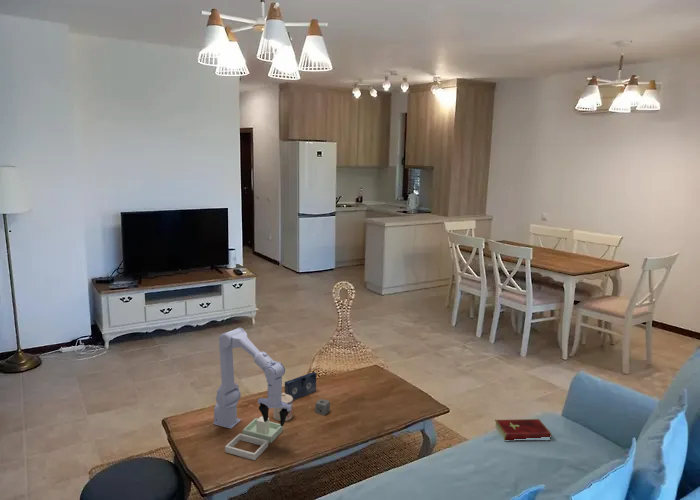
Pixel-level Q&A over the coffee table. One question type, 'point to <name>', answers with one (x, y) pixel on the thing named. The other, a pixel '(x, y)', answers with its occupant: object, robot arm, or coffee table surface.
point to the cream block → (262, 426)
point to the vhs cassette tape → (301, 386)
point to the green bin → (270, 436)
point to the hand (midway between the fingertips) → (274, 422)
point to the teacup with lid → (276, 415)
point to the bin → (243, 453)
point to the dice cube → (322, 407)
